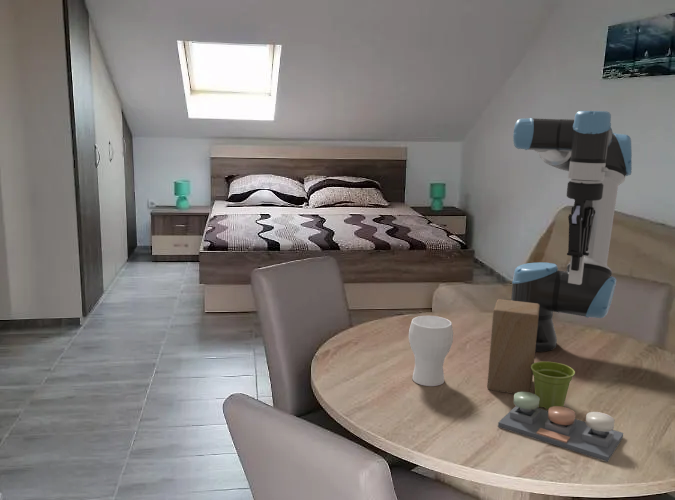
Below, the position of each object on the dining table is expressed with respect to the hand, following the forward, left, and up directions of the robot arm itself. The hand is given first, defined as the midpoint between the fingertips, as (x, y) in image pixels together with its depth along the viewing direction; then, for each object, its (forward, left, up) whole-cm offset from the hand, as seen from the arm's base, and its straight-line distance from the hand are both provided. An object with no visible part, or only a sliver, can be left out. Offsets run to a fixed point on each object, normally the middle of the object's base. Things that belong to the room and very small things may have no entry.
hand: (574, 283), depth 147 cm
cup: (-28, -16, -27) cm, 42 cm away
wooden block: (-11, -6, -27) cm, 29 cm away
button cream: (+13, -22, -24) cm, 35 cm away
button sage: (-1, -22, -24) cm, 32 cm away
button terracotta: (+6, -22, -25) cm, 34 cm away
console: (+6, -22, -26) cm, 35 cm away
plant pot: (0, -10, -27) cm, 29 cm away
